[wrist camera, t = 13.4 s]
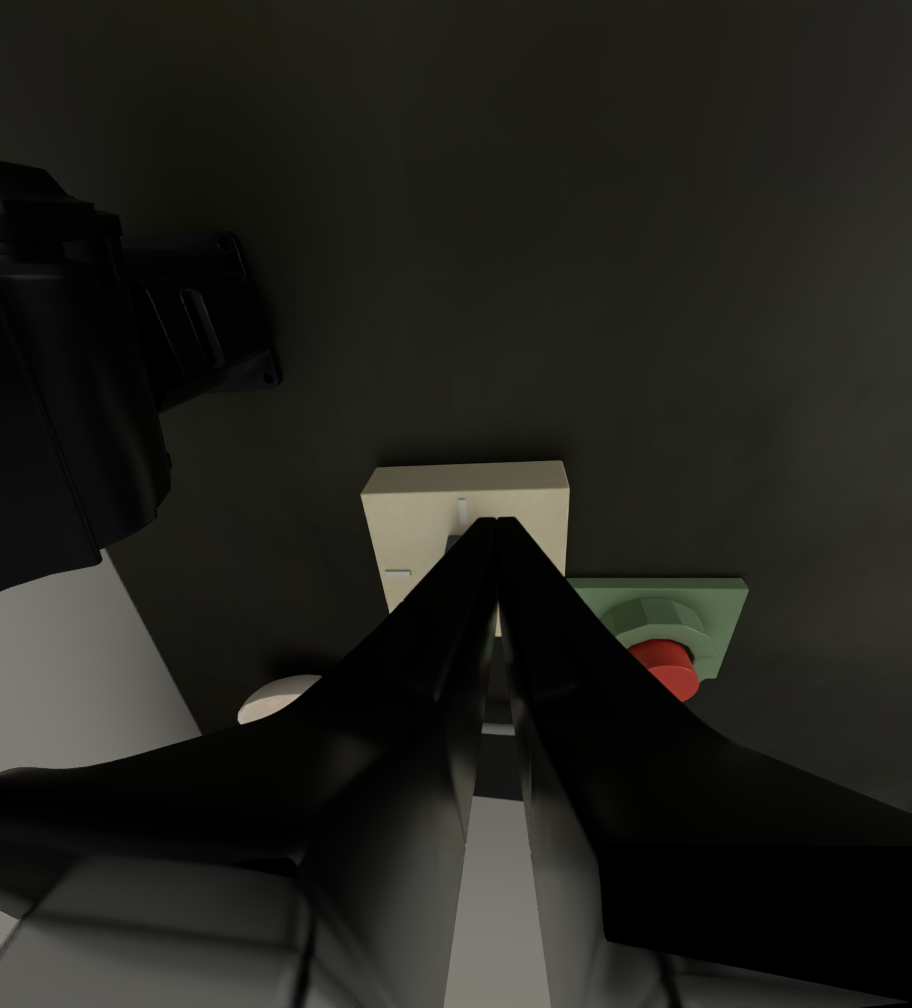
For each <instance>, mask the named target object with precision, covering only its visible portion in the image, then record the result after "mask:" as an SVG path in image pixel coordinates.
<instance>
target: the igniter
mask: <svg viewBox="0 0 912 1008" xmlns="http://www.w3.org/2000/svg"><path fill="white" fill-rule="evenodd" d="M566 579H567V581H568V582H569V583H570V584H571V586H572V587H573V588H574V589H575V591H576V592H577V593H578V594H579V595H580V597H581V598H582V599H583V600H584V603H586V604H587V605H588V606H589V608H590V609H591V610H592V611H593V613H594V614H595V615H596V616H597V617H598V619H599V620H600V621H601V622H602V623H603V624H604V625H605V627H606V628H607V629H608V630H609V631H610V632H611V633H612V634H613V635H614V637H615V638H616V639H617V640H618V641H619V642H620V643H621V644H622V645H623V646H624V647H625V648H626V649H628V648H629V647H630V646H631V645H634V644H637V643H640V642H643V641H646V640H649V639H671V640H674V641H676V642H678V643H679V644H680V645H682V646H683V647H684V649H685V650H686V653H687V655H688V657H689V659H690V661H691V664H692V666H693V668H694V670H695V672H696V675H697V677H698V679H699V683H700V682H701V681H702V680H704V679H705V678H716V676H717V674H718V671H719V668H720V666H721V663H722V660H723V658H724V655H725V652H726V650H727V647H728V644H729V642H730V639H731V636H732V634H733V631H734V628H735V626H736V623H737V620H738V618H739V615H740V612H741V610H742V607H743V604H744V602H745V599H746V596H747V594H748V591H749V588H748V587H747V586H746V584H745V583H744V582H743V580H742V579H741V578H566Z"/></svg>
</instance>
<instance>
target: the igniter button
mask: <svg viewBox="0 0 912 1008" xmlns="http://www.w3.org/2000/svg"><path fill="white" fill-rule="evenodd" d="M627 650H628V651H629V652H630V653H631V654H632V655H633V656H634V657H635V658H636V659H637V660H638V661H640V662H641V663H642V664H643V665H644V666H645V667H646V668H647V669H648V670H649V671H650V672H651V673H652V674H653V675H654V676H655V677H656V678H657V679H658V680H659V681H660V682H661V683H662V684H663V685H664V686H666V687H667V688H668V689H669V690H670V691H671V692H672V693H673V694H674V695H675V696H676V697H677V698H678V699H679V700H680V701H681V702H683V701H685V700H687V699H689V698H690V697H692V696H693V695H694V694H695V693H696V691H697V690H698V687H699V679H698V677H697V675H696V672H695V670H694V668H693V666H692V664H691V661H690V659H689V657H688V655H687V653H686V650H685V649H684V647H683V646H682V645H680V644H679V643H678V642H676V641H674V640H671V639H649V640H646V641H643V642H640V643H637V644H634V645H631V646H630V647H629V648H628V649H627Z"/></svg>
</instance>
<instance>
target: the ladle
mask: <svg viewBox="0 0 912 1008" xmlns="http://www.w3.org/2000/svg"><path fill="white" fill-rule="evenodd" d="M321 677H322V676H319V675H296V676H291V677H286V678H283V679H279V680H276V681H273V682H271V683H269V684H267V685H265V686H263V687H262V688H260V689H259V690H258V691H256V692H255V693H253V694H252V695H251V696H250V697H249V698H248V699H247V700H246V702H245V703H244V705H243V706H242V708H241V709H240V711H239V712H238V721H239V722H240V723H241V724H245V723H248V722H252V721H255V720H258V719H261V718H264V717H266V716H268V715H271V714H273V713H275V712H277V711H278V710H280V709H282V708H284V707H285V706H287V705H288V704H290V703H291V702H292V701H294V700H295V699H296V698H298V697H299V696H300V695H301V694H303V693H304V692H305V691H306V690H307V689H308V688H309V687H311V686H312V685H313V684H314V683H315V682H316V681H317V680H319V679H320V678H321ZM482 733H488V734H500V735H515V733H514V725H513V724H494V723H483V726H482Z"/></svg>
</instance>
